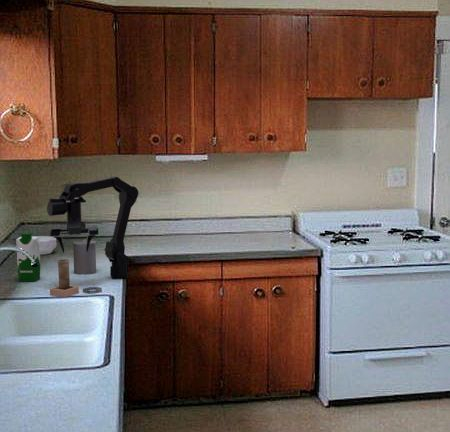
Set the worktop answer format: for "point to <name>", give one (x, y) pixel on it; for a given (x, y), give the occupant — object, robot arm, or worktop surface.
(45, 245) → the paper bowls
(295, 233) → the worktop surface
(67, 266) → the peg
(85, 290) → the washer
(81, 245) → the pillar candle
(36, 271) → the milk carton
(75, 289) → the collar
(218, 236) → the worktop surface
